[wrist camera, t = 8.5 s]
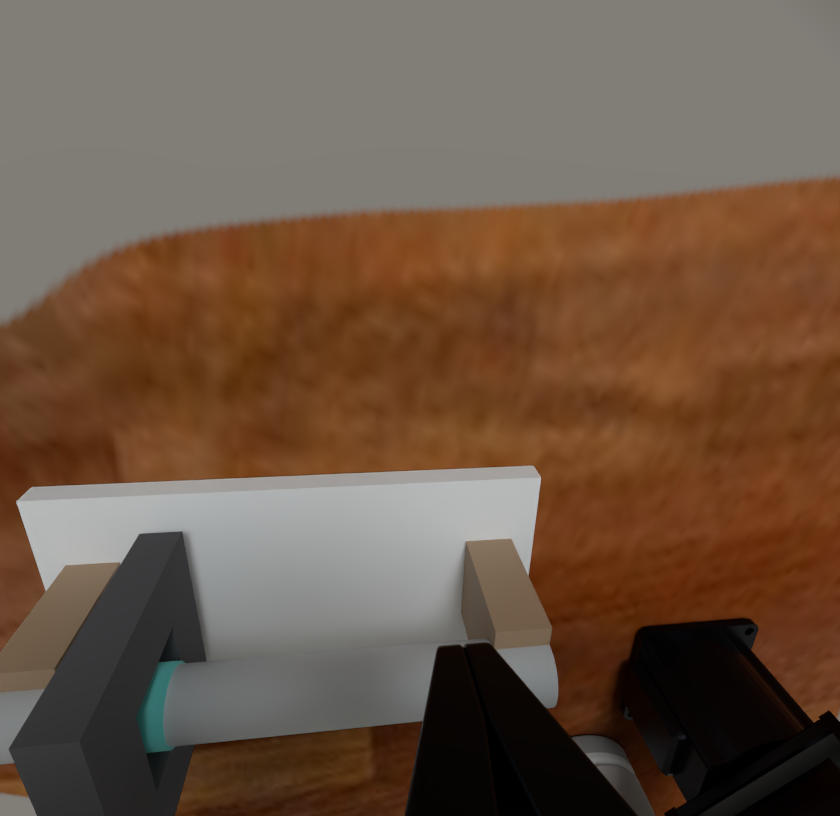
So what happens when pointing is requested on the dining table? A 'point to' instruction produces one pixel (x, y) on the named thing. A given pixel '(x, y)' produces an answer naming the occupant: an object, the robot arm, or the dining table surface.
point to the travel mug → (616, 770)
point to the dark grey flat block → (114, 695)
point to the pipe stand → (295, 595)
